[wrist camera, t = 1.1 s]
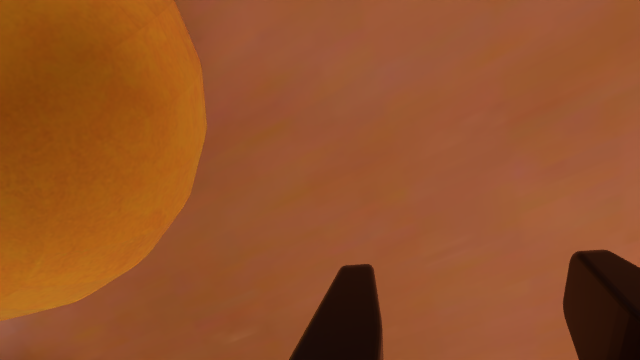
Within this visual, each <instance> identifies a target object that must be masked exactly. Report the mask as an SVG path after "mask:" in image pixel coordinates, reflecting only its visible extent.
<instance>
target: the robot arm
mask: <svg viewBox="0 0 640 360" xmlns="http://www.w3.org/2000/svg"><path fill="white" fill-rule="evenodd" d="M563 310H564V316H565V319H566V323H567V326H568V329H569V331H570V334H571V337H572V340H573V343H574V346H575V349H576V352H577V355H578V358H579V360H640V268H639V267H637V266H636V265H634V264H632V263H630V262H628V261H627V260H625V259H623V258H621V257H619V256H618V255H616V254H614V253H612V252H610V251H608V250H590V251H578V252H576V253H574V254H573V255H572V257H571V259H570V263H569V269H568V275H567V281H566V287H565V293H564V299H563ZM289 360H383V337H382V321H381V314H380V307H379V301H378V294H377V288H376V281H375V275H374V269H373V267H372V266H371V265H369V264H361V265H346V266H343V267H341V269H340V270H339V272H338V273H337V275H336V277H335V279H334V280H333V282H332V284H331V286H330V288H329V289H328V291H327V293H326V295H325V296H324V298H323V300H322V302H321V304H320V305H319V307H318V309H317V311H316V312H315V314H314V316H313V318H312V320H311V321H310V323H309V325H308V327H307V328H306V330H305V332H304V334H303V336H302V337H301V339H300V341H299V343H298V344H297V346H296V348H295V350H294V352H293V353H292V355H291V357H290V359H289Z"/></svg>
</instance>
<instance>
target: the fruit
mask: <svg viewBox="0 0 640 360" xmlns="http://www.w3.org/2000/svg"><path fill="white" fill-rule="evenodd" d="M206 130H207V121H206V111H205V100H204V89H203V78H202V68H201V63H200V60H199V57H198V55H197V53H196V50H195V48H194V46H193V43H192V41H191V38H190V36H189V34H188V31H187V29H186V27H185V24H184V22H183V20H182V17H181V15H180V13H179V10H178V8H177V6H176V3H175V1H174V0H0V321H3V320H7V319H11V318H16V317H20V316H24V315H28V314H32V313H36V312H40V311H44V310H47V309H51V308H55V307H59V306H63V305H67V304H71V303H74V302H76V301H78V300H80V299H82V298H84V297H86V296H88V295H90V294H92V293H94V292H95V291H97V290H98V289H100V288H101V287H103V286H105V285H106V284H108V283H109V282H111V281H112V280H114V279H116V278H117V277H119V276H120V275H122V274H123V273H125V272H126V271H128V270H130V269H131V268H133V267H134V266H136V265H137V264H138V263H139V262H140V261H141V260H142V259H143V258H145V257H146V256H147V255H148V254H149V253H150V252H151V250H152V249H153V248H154V246H155V245H156V244H157V242H158V241H159V240H160V238H161V237H162V235H163V234H164V233H165V231H166V230H167V229H168V227H169V226H170V225H171V223H172V222H173V221H174V219H175V218H176V216H177V215H178V214H179V212H180V211H181V210H182V208H183V206H184V205H185V203H186V201H187V199H188V198H189V196H190V193H191V189H192V186H193V182H194V178H195V174H196V170H197V167H198V163H199V159H200V155H201V151H202V148H203V144H204V140H205V135H206Z"/></svg>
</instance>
